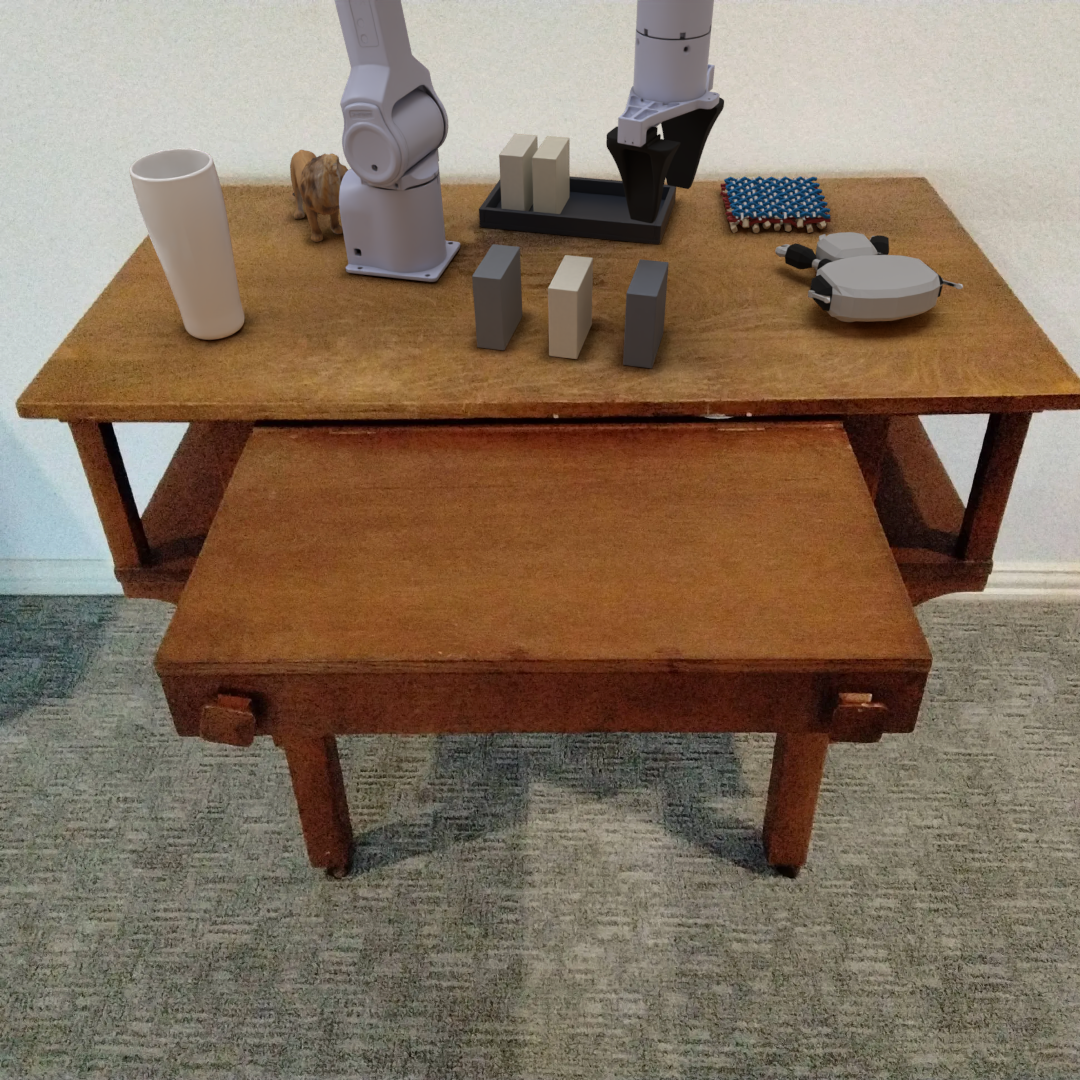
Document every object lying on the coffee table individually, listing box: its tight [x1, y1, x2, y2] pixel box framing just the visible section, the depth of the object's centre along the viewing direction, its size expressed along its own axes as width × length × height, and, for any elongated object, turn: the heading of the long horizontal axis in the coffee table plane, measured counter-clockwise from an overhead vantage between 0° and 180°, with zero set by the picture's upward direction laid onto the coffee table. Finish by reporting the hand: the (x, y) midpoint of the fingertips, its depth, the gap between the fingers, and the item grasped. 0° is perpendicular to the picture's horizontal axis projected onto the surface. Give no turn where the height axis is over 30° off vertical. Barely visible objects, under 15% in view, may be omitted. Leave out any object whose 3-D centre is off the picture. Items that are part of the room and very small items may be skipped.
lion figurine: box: [289, 149, 349, 243], centre depth 101 cm, size 15×5×9 cm, turn 33°
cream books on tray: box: [498, 132, 571, 214], centre depth 103 cm, size 6×6×6 cm
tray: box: [478, 176, 677, 245], centre depth 104 cm, size 19×10×2 cm, turn 75°
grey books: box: [471, 243, 669, 369], centre depth 83 cm, size 16×6×7 cm, turn 75°
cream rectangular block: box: [547, 254, 594, 360], centre depth 83 cm, size 2×6×6 cm, turn 165°
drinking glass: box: [128, 147, 246, 341], centre depth 83 cm, size 7×7×15 cm
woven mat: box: [719, 175, 832, 234], centre depth 103 cm, size 10×11×2 cm
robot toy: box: [774, 231, 964, 323], centre depth 89 cm, size 12×4×15 cm
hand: (661, 202), depth 83 cm, fingers open, 7 cm apart
